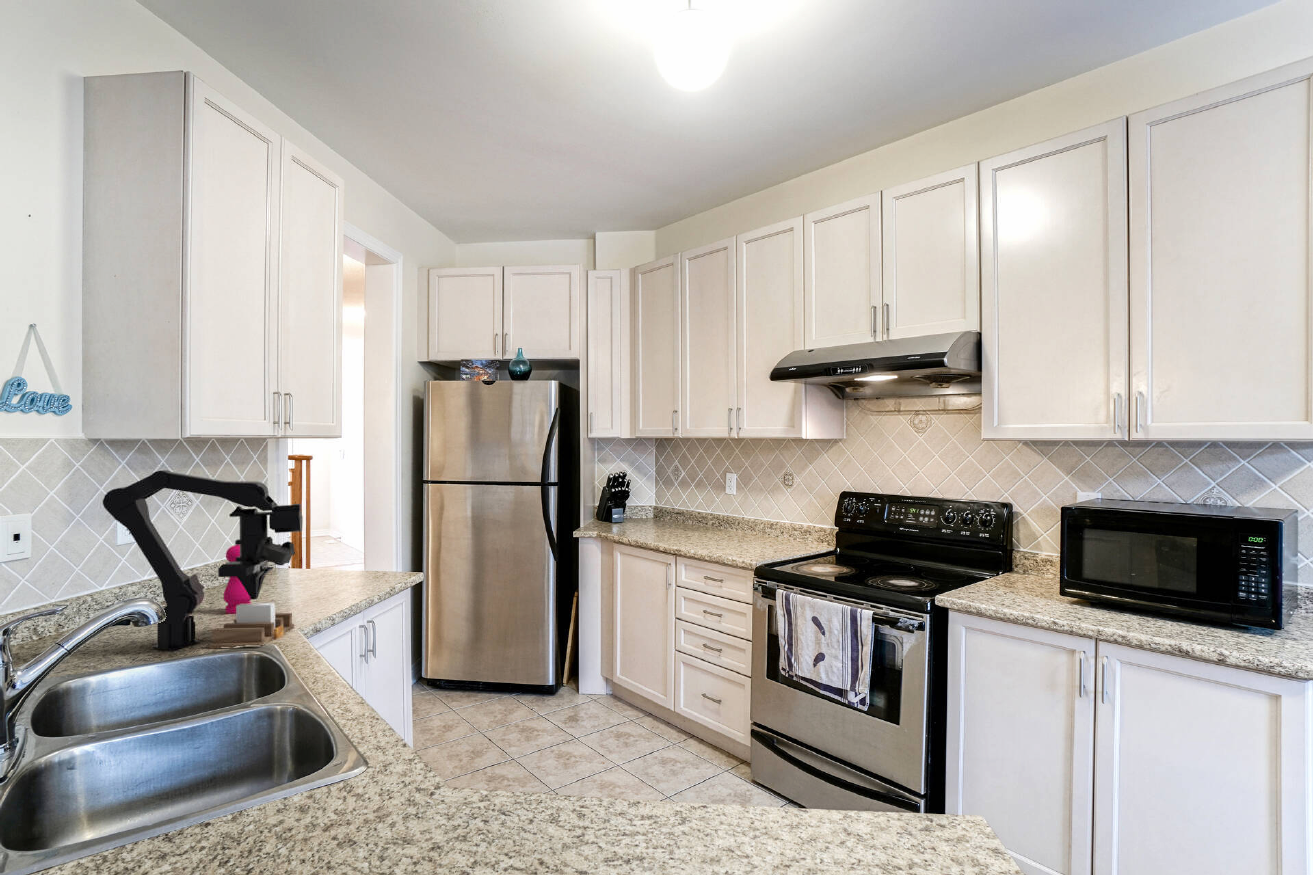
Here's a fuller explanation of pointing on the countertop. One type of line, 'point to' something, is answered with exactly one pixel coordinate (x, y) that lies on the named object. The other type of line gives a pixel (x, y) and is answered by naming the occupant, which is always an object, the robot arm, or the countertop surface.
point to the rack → (251, 632)
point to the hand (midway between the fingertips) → (254, 598)
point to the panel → (255, 613)
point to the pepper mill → (234, 585)
